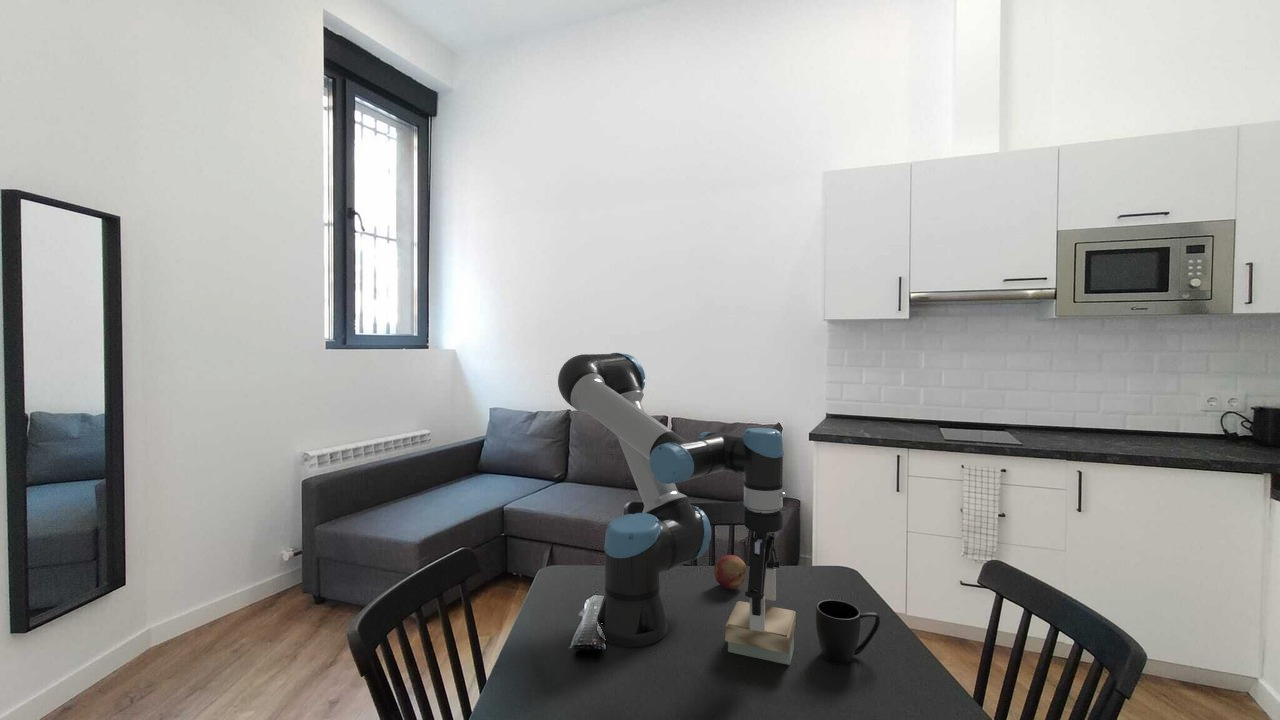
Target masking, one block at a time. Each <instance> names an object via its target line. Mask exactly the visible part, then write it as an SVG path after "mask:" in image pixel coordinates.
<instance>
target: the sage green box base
mask: <svg viewBox="0 0 1280 720" xmlns="http://www.w3.org/2000/svg"><path fill="white" fill-rule="evenodd" d="M794 647H795V633H794V634H793V638H792V642H791V646H790V650H789V654H786V653H781V652H776V651H771V650H767V649H762V648H757V647H752V646H747V645H743V644H738V643H733V642H728V641H727V652H728V653H733V654H737V655H742V656H746V657H750V658H756V659H759V660H760V659H761V660H765V661H769V662H774V663H779V664H784V665H786V666H787V665H788V666H790V665H791V663H792V658H793V654H794V650H795V648H794Z"/></svg>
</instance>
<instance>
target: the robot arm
mask: <svg viewBox="0 0 1280 720" xmlns="http://www.w3.org/2000/svg"><path fill="white" fill-rule="evenodd" d="M645 380H646V374H645V370H644V368H643V365H642V364H641V363H640V362H639V360H638V359H637V358H636V357H635V356H633V355H631V354H629V353H620V352H612V353H599V354H598V353H597V354H596V353H595V354H594V353H593V354H590V353H589V354H587V353H585V354H579V355H576V356H575V355H574V356H573V357H570V358H569V359H568V360H567V361H566V362H565V363H564V364H563V365H562V367H561V368H560V370H559V373H558V376H557V386H558V387H557V388H558V390H559V393H560V394H561V397H562V398H563V399H564V400H565V402H566V403H567V404H569V406H571V408H574V409H575V410H576V411H578V412H583V413H584V412H586V413H587V414H588V415H589V416H591V417H592V418H594V420H596V421H598V422H599V423H600V424H601V425H603V426H604V427H606V429H608V430H610V431H611V432H612V433H613V434H615V435H616V437H617V440H618V443H619V445H620V448H621V450H622V453H623V455H624V457H625V460H626V462H627V465H628V468H629V470H630V473H631V476H632V477H633V480H634V484H635V485H636V488H637V490H638V493H639V496H640V498H641V500H642V501H641V502H642V503H643V510H642V512H635V513H627V514H623V515H620V516H618V517H616V518H614V519H613V520H612V521H610V522H609V524H608V525H607V526H606V530H605V537H604V538H605V539H604V544H603V547H604V548H603V549H604V594H603V598H602V601H601V604H600V607H599V611H598V613H597V617H596V623H597V622H598V624H599V626H600V627H601V629H602V631H603V633H604V635H605V639H606V641H605V642H606V643H608V644H611V645H614V646H617V647H618V646H619V647H623V648H639V647H645V646H646V647H647V646H650V645H654V644H655V643H657V642H659V641H661V640H662V639H664V637H665V636H666V634H668V629H669V627H668V624H669V623H668V622H669V621H668V615H667V612H666V608H665V605H664V603H663V599H662V597H661V593H660V582H661V581H660V577H661V576H660V575H661V574H662V573H664V572H667V571H669V570H673V569H675V568H677V567H679V566H682V565H684V564H689V563H692V562H694V561H695V560H697V559H698V558H700V557H702V556H703V555H704V554H705V553H706V552H707V550H708V549H709V547H710V542H711V539H712V527H711V523H710V520H709V518H708V516H707V514H706V513H705V511H703V509H700V508H699V507H698V506H695V505H691V502H690V500H689V497H688V496H687V495H685V494H684V493H681V492H680V491H679V490H678V488H677V485H676V484H679V483H684V482H687V481H690V480H693V479H697V478H700V477H704V476H709V475H711V474H715V473H720V472H729V473H734V474H739V475H743V506H744V509H743V525H744V527H745V528H746V529H748V530H750V531H752V532H754V534H753V535H754V536H753V537H752V538H751V542H750V557H749V558H750V559H749V570H748V583H747V584H748V585H747V591H745V592H744V593H745V594H744V595H745V597H747V598H748V599H749V603H750V630H755V631H760V632H765V606H766V600H768V601H772V602H773V601H774V602H776V600H777V585H776V583H777V577H776V576H777V568H778V569H780V565H781V563H780V561H778V553H777V542H776V541H777V540H776V532H780V531H781V530H782V529H783V527H784V511H783V510H782V508H783V507H784V506H783V503H784V502H783V500H784V498H786V497H787V494H786V492H783V488H784V486H783V484H784V482H783V479H784V478H783V475H784V474H783V472H784V471H783V469H784V466H783V464H784V463H783V462H784V456H785V455H784V452H785V451H784V447H783V446H784V445H783V435H782V432H781V431H779V430H778V429H775V428H770V427H751V428H750V427H749V428H746V429H745V431H744V432H743V436H741V435H735V434H727V433H724V432H723V433H722V432H719V431H714V432H713V431H711V432H710V431H704V432H701V433H700V434H699V436H697V437H696V438H690V439H686V438H684V437H682V436H680V435H679V434H677V433H676V432H674V431H673V430H672V429H670V428H668V427H667V426H666V425H664V424H663V423H661V422H660V421H659V420H657V419H655V418H654V417H653V416H652V415H650V414H649V413H647V412H646V411H645V410H644V407H643V405H642V400H643V398H644V394H645V393H644V392H643V390H644V389H645V387H646V386H645V385H646V381H645ZM601 623H603V624H601Z"/></svg>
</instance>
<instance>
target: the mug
mask: <svg viewBox="0 0 1280 720" xmlns="http://www.w3.org/2000/svg"><path fill="white" fill-rule="evenodd" d="M868 617H870V618H871V617H872V618H874V622H873V626H872V627H871V630H869V633H868V634H867V635H866V636H865V638H864V640H863V641H862V642H861V643H860V644H859V645H858V642H859V639H860V631H861V619H865V618H868ZM880 623H881V617H880V615H879V614H878V613H877V612H872V611H862V612H861V611H860V609H859V608H858V607H857V606H856V605H854V604H852V603H850V602H847V601H843V600H839V599H825V600H824V599H823V600H821V601H818V602H817V603H816V606H815V627H816V634H817V638H818V642H819V646H820V650H821V653H822V654H821V655H822V657H823V659H825V660H826V661H827V662H830V663H832V664H835V665H848V664H850V663H851V662H852V661H853V657H854V656H857V655H858V656H859V654H861V653H862V652H863V651H864V650H865V648H866V647H867V646H868V645H869V643H870V642H871V641H872V639H873V638H874V636H875V635H876V633H877V631H878V630H879V627H880Z"/></svg>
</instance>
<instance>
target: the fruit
mask: <svg viewBox="0 0 1280 720" xmlns="http://www.w3.org/2000/svg"><path fill="white" fill-rule="evenodd" d="M713 568H714V569H713V570H714V572H713V573H714V578H715V579H714V580H716V582H717V583H718V584H719V585H720V586H721V587H723V588H725V589H727V590H736V589H738V588H739V587H740V588H741V586H742V585H743V584H744V581H745V579H746V573H747V566H746V562H744V560H743V559H741V558H740V556H737V555H734V554H728V555H724V556H722V557H721V558H719V560H717V562H716V563H715V565H714V567H713Z"/></svg>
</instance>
